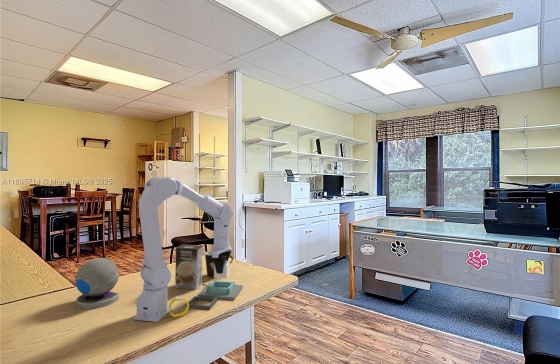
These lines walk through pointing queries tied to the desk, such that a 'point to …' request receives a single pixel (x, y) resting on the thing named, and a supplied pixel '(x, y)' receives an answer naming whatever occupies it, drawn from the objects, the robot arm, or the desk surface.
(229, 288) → the dock
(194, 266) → the coffee box
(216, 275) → the plug
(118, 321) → the desk surface
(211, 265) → the coffee mug
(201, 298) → the tray
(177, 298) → the watch
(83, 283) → the webcam
